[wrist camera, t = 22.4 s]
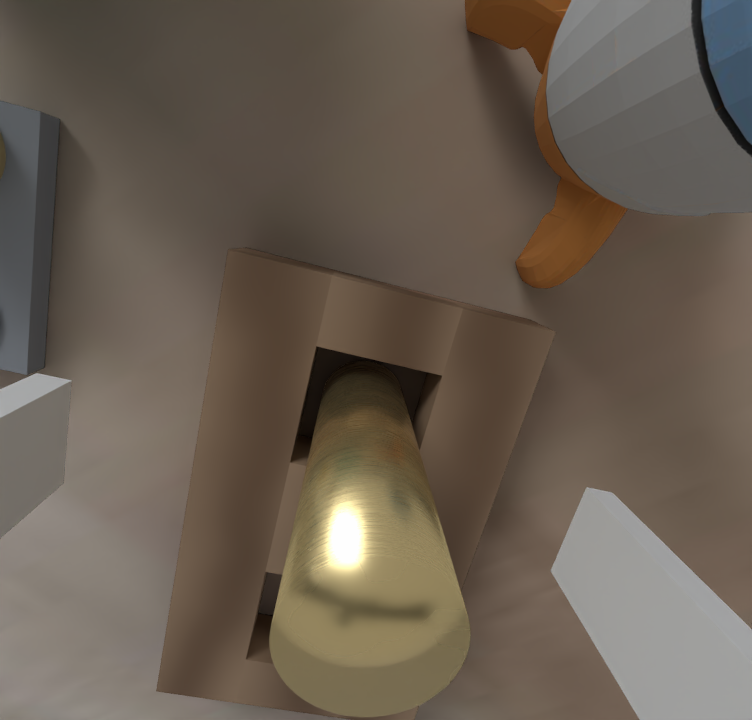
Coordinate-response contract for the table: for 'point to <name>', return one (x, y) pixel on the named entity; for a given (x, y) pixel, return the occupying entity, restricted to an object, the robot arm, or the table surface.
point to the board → (291, 451)
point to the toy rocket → (630, 113)
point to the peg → (367, 562)
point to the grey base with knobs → (25, 233)
